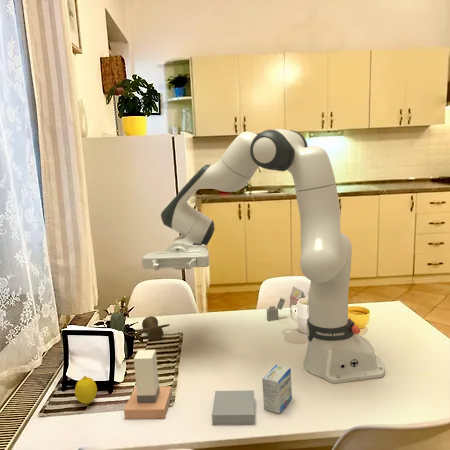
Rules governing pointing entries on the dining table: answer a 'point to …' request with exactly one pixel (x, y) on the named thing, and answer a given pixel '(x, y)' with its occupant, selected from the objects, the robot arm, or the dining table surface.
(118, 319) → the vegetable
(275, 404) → the medicine box
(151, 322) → the kendama
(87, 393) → the fruit
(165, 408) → the terracotta stand
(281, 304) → the lighter
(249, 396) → the slate stand
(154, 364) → the banded sleeve
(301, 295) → the tea bag
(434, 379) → the dining table surface
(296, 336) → the dining table surface
